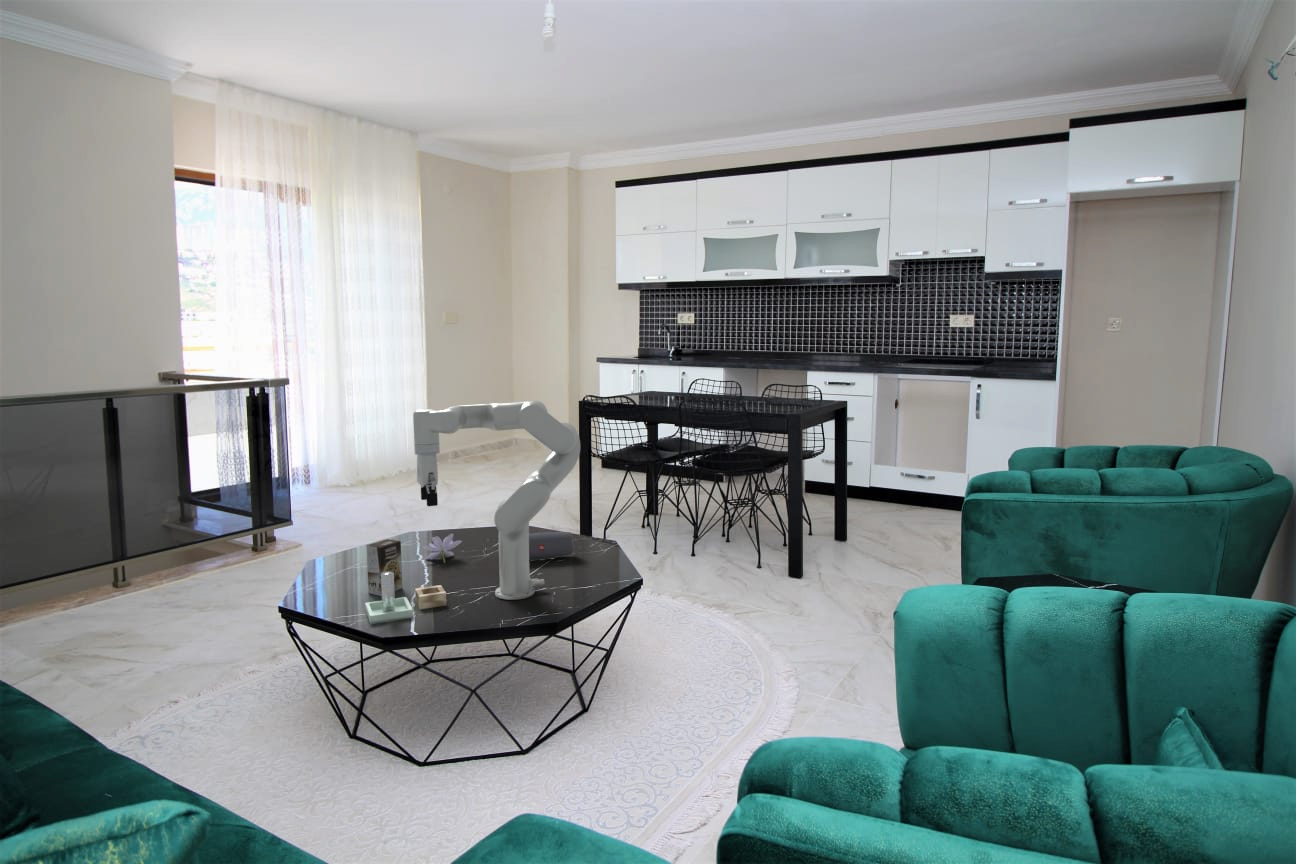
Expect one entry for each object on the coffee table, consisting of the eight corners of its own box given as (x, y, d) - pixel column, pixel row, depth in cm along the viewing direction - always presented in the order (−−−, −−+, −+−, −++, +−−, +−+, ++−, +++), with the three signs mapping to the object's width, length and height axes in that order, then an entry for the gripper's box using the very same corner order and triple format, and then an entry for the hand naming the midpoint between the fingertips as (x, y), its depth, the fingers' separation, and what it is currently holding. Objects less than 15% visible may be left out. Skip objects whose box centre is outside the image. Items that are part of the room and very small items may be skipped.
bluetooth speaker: (510, 565, 283) (509, 538, 282) (508, 557, 292) (507, 531, 291) (573, 560, 289) (572, 534, 287) (569, 553, 298) (569, 527, 296)
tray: (406, 604, 244) (406, 596, 244) (413, 617, 233) (412, 609, 233) (365, 610, 239) (365, 602, 238) (370, 624, 228) (369, 616, 228)
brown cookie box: (382, 596, 251) (379, 547, 249) (367, 593, 254) (365, 544, 252) (403, 588, 259) (401, 540, 257) (389, 585, 262) (387, 538, 260)
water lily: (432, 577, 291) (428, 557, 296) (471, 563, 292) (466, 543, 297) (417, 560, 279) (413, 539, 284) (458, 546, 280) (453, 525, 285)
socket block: (441, 597, 250) (440, 585, 250) (446, 605, 243) (446, 592, 243) (415, 601, 247) (414, 588, 246) (419, 609, 240) (419, 596, 239)
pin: (381, 611, 237) (380, 572, 235) (394, 609, 238) (392, 570, 237) (383, 615, 234) (381, 576, 232) (395, 613, 235) (394, 574, 233)
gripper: (410, 445, 252) (412, 498, 254) (419, 453, 236) (422, 509, 239) (434, 444, 255) (436, 496, 257) (445, 452, 240) (447, 507, 242)
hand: (429, 502), depth 248 cm, fingers open, 9 cm apart
